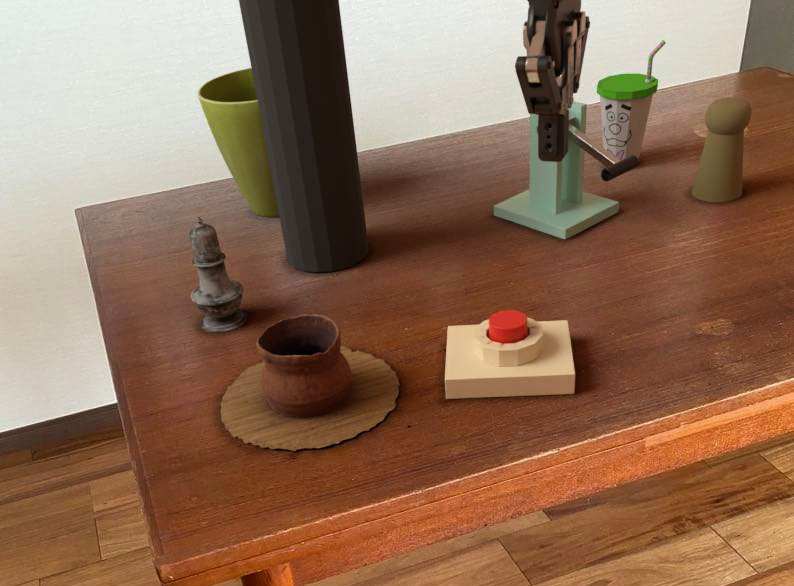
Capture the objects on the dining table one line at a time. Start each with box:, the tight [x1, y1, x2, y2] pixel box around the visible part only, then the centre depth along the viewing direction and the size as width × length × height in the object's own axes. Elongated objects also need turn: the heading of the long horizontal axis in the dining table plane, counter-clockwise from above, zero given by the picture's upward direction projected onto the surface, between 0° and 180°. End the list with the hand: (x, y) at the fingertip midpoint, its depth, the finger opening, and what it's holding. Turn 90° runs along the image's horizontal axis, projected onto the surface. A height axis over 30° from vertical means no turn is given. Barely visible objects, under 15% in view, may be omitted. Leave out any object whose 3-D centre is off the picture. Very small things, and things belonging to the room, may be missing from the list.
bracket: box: [493, 100, 620, 241], centre depth 108 cm, size 12×10×13 cm
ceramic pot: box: [219, 313, 401, 452], centre depth 84 cm, size 18×18×7 cm
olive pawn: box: [691, 96, 753, 203], centre depth 108 cm, size 6×6×11 cm
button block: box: [444, 317, 576, 400], centre depth 86 cm, size 12×10×4 cm
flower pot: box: [197, 67, 279, 218], centre depth 118 cm, size 15×15×16 cm
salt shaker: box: [188, 216, 248, 334], centre depth 96 cm, size 6×6×12 cm
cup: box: [596, 39, 666, 161], centre depth 117 cm, size 8×8×15 cm
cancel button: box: [488, 309, 528, 344], centre depth 84 cm, size 4×4×2 cm
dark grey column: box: [238, 0, 370, 274], centre depth 100 cm, size 10×10×30 cm
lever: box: [568, 113, 639, 182], centre depth 103 cm, size 12×5×2 cm, turn 41°
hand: (553, 158), depth 75 cm, fingers closed
